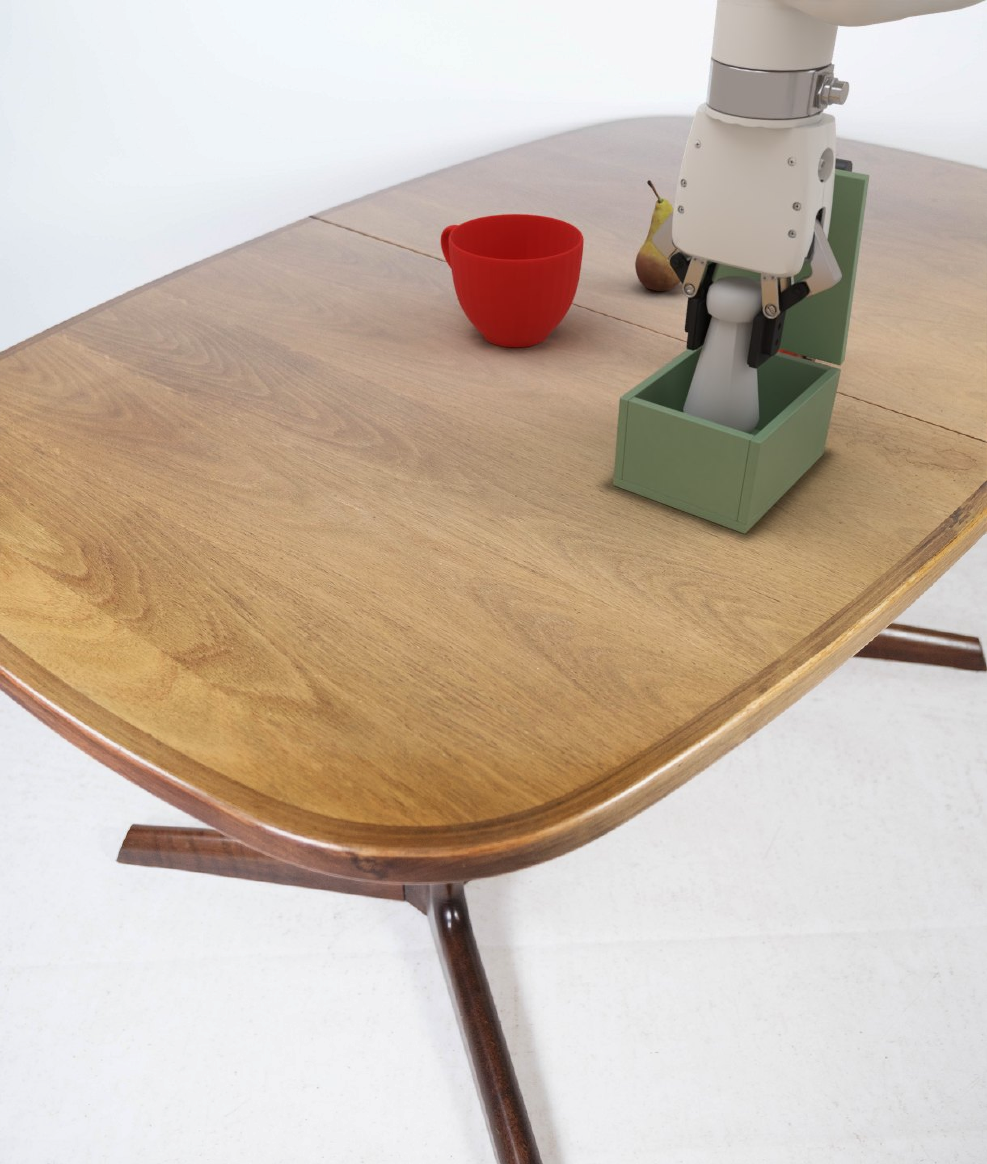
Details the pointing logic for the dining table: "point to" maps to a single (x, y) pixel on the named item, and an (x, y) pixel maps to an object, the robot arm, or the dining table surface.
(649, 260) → the fruit
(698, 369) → the salt shaker
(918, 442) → the dining table surface
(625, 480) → the holder
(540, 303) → the ceramic cup
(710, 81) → the robot arm
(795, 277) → the lid
